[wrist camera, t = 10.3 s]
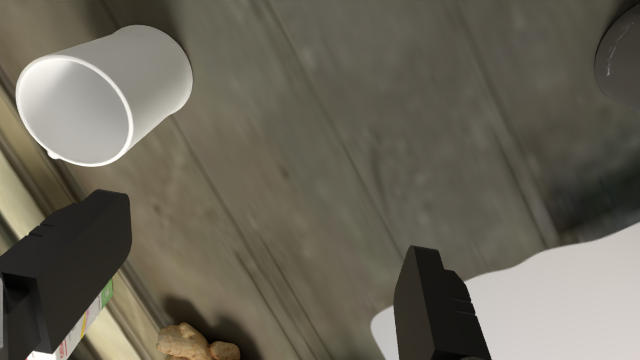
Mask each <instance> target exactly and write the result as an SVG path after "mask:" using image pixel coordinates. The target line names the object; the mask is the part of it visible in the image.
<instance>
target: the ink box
mask: <svg viewBox="0 0 640 360" xmlns="http://www.w3.org/2000/svg"><path fill="white" fill-rule="evenodd" d="M112 295H113V289H112V278H111V280H110V281H109V282H108V283H107V285H106V286H105V287H104V289H103V290H102V291H101V292H100V294H99V295H98V296H97V298H96V299H95V300H94V302H93V303H92V304H91V305H90V307H89V308H88V309H87V311H86V312H85V313H84V314H83V316H82V317H81V318H80V320H79V321H78V322H77V324H76V325H75V326H74V327H73V329H72V330H71V331H70V333H69V334H68V335H67V336H66V338H65V339H64V340H63V342H62V343H61V344H60V346H59V347H58V348H57V349H56V351H55V352H54V353H53V355H52V354H47V353H41V352H35V351H32V353H31V354H30V355H29V356H28V357H27V359H26V360H67V358H68V357H69V355H70V354H71V353H72V351H73V350H74V348H75V347H76V345H77V344H78V342H79V341H80V340H81V338H82V337H83V335H84V334H85V333H86V331H87V330H88V328H89V327H90V325H91V324H92V323H93V321H94V320H95V319H96V317H97V316H98V314H99V313H100V311H101V310H102V309H103V307H104V306H105V304H106V303H107V302H108V300H109V299H110V298H111V296H112Z"/></svg>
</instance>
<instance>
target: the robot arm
mask: <svg viewBox="0 0 640 360" xmlns="http://www.w3.org/2000/svg"><path fill="white" fill-rule="evenodd" d="M595 75H596V79H597V82H598V85H599V87H600V88H601V89H602V91H603V92H604V93H605V94H606V95H607V96H609V97H610V98H611V99H613V100H614V101H616V102H618V103H620V104H622V105H624V106H626V107H628V108H630V109H632V110H633V111H635V112H637V113H639V114H640V3H639V4H637V5H636V6H634V7H633V8H631V9H629V10H628V11H626V12H625V13H624V14H623V15H622V16H621V17H620V18H619V19H618V20H616V21H615V23H614V24H613V25H612V26H611V28H610V29H609V30H608V31H607V33H606V34H605V36H604V38H603V40H602V41H601V43H600V46H599V49H598V51H597V54H596V60H595ZM131 244H132V231H131V216H130V201H129V197H128V195H127V194H124V193H119V192H113V191H107V190H102V189H97V190H95V191H94V192H92V193H91V194H90V195H89V196H88V197H87V198H86V199H84V200H83V201H82V202H81V203H80V204H77V203H73V204H71V205H69V206H66V207H64V208H62V209H60V210H57V211H55V212H54V213H52V214H51V215H50V216H49V217H48V218H46V219H45V220H44V221H43V222H42V223H41V224H40V226H37V227H36V228H34V229H33V230H32V231H31V232H29V235H28V236H25V237H23V238H22V239H21V240H20V241H19V242H17V243H16V244H15V245H14V246H13V247H11V248H10V249H9V250H8V251H7V252H5V253H4V254H3V255H2V256H0V360H26V359H27V357H28V356H29V355H30V354H31V353H32V351H35V352H41V353H47V354H52V355H53V353H54V352H55V351H56V349H57V348H58V347H59V346H60V344H61V343H62V342H63V340H64V339H65V338H66V336H67V335H68V334H69V333H70V331H71V330H72V329H73V327H74V326H75V325H76V324H77V322H78V321H79V320H80V318H81V317H82V316H83V314H84V313H85V312H86V311H87V309H88V308H89V307H90V305H91V304H92V303H93V302H94V300H95V299H96V298H97V296H98V295H99V294H100V292H101V291H102V290H103V289H104V287H105V286H106V285H107V283H108V282H109V281H110V280H111V278H112V277H113V276H114V274H115V273H116V272H117V270H118V269H119V268H120V267H121V265H122V264H123V263H124V261H125V260H126V258H127V257H128V254H129V252H130V249H131ZM394 316H395V325H396V334H397V343H398V352H399V360H492V359H491V356H490V353H489V350H488V347H487V345H486V342H485V339H484V336H483V333H482V330H481V327H480V324H479V322H478V318H477V316H475V310H474V307H473V304H472V303H471V298H470V295H469V292H468V289H467V287H466V285H465V284H464V282H463V281H462V280H461V279H460V277H459V276H458V275H457V274H456V273H455V271H451V270H445V269H444V267H443V264H442V261H441V257H440V254H439V251H438V250H435V249H430V248H424V247H418V246H413V245H411V246H410V247H409V249H408V251H407V254H406V257H405V260H404V263H403V266H402V269H401V272H400V275H399V278H398V281H397V285H396V288H395V293H394Z"/></svg>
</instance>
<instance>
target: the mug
mask: <svg viewBox="0 0 640 360" xmlns="http://www.w3.org/2000/svg"><path fill="white" fill-rule="evenodd" d="M192 85H193V75H192V69H191V66H190V63H189V60H188V58H187V56H186V54H185V53H184V51H183V50H182V48H181V47H180V46H179V45H178V43H177V42H176V41H175V40H173V39H172V38H171V37H170V36H169V35H167V34H166V33H164V32H162V31H160V30H158V29H156V28H153V27H150V26H145V25H131V26H126V27H123V28H121V29H119V30H117V31H116V32H114V33H113V34H111V35H108V36H105V37H102V38H99V39H96V40H93V41H90V42H86V43H83V44H80V45H77V46H74V47H71V48H67V49H64V50H61V51H58V52H55V53H52V54H49V55H46V56H43V57H40V58H38V59H36V60H34V61H32V62H31V63H30V64H28V65H27V66H26V67H25V69H24V70H23V71H22V73H21V75H20V77H19V79H18V82H17V86H16V102H17V107H18V111H19V114H20V116H21V119H22V121H23V123H24V124H25V126H26V128H27V129H28V131H29V132H30V134H31V135H32V136H33V137H34V138H35V140H36V141H37V142H38V143H39V144H40V145H42V146H43V147H44V148H45V149H46V150H48V155H49V156H50V157H51V158H54V159H59V158H61V159H63V160H65V161H67V162H70V163H73V164H77V165H82V166H101V165H106V164H109V163H111V162H113V161H115V160H117V159H118V158H120V157H121V156H122V155H123V154H124V153H126V152H127V151H128V150H129V149H130V148H131V147H132V146H134V145H135V144H136V143H137V142H138V141H139V140H141V139H142V138H143V137H144V136H145V135H146V134H147V133H149V132H150V131H151V130H152V129H153V128H154V127H155V126H157V125H158V124H159V123H160V122H161V121H162V120H164V119H165V118H166V117H167V116H168V115H170V114H172V113H174V112H176V111H178V110H179V109H180V108H181V107H182V106H183V105H184V104H185V103H186V102H187V100H188V98H189V96H190V94H191V90H192Z"/></svg>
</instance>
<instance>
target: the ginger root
mask: <svg viewBox="0 0 640 360" xmlns="http://www.w3.org/2000/svg"><path fill="white" fill-rule="evenodd" d="M156 347H157V349H158V350H159V351H161V352H163V353H167V354H168V356H167V357H166V358H165V360H240V352H239V348H238V346H236V345H235V344H232V343H225V342H221V341H215V342H214V343H212V344H211V345H210V344H209V343H208V342H207V340H206V339H205V337H204V336H203V335H201V334H200V333H199V332H198V331H197V330H196V329H194V328H193V327H191V326H190V325H189V324H187V323H185V322H184V323H181V324H180V325H169V326H167V327H165V328H162V329H161V330H160V333H159V334H158V343H157V345H156Z"/></svg>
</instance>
